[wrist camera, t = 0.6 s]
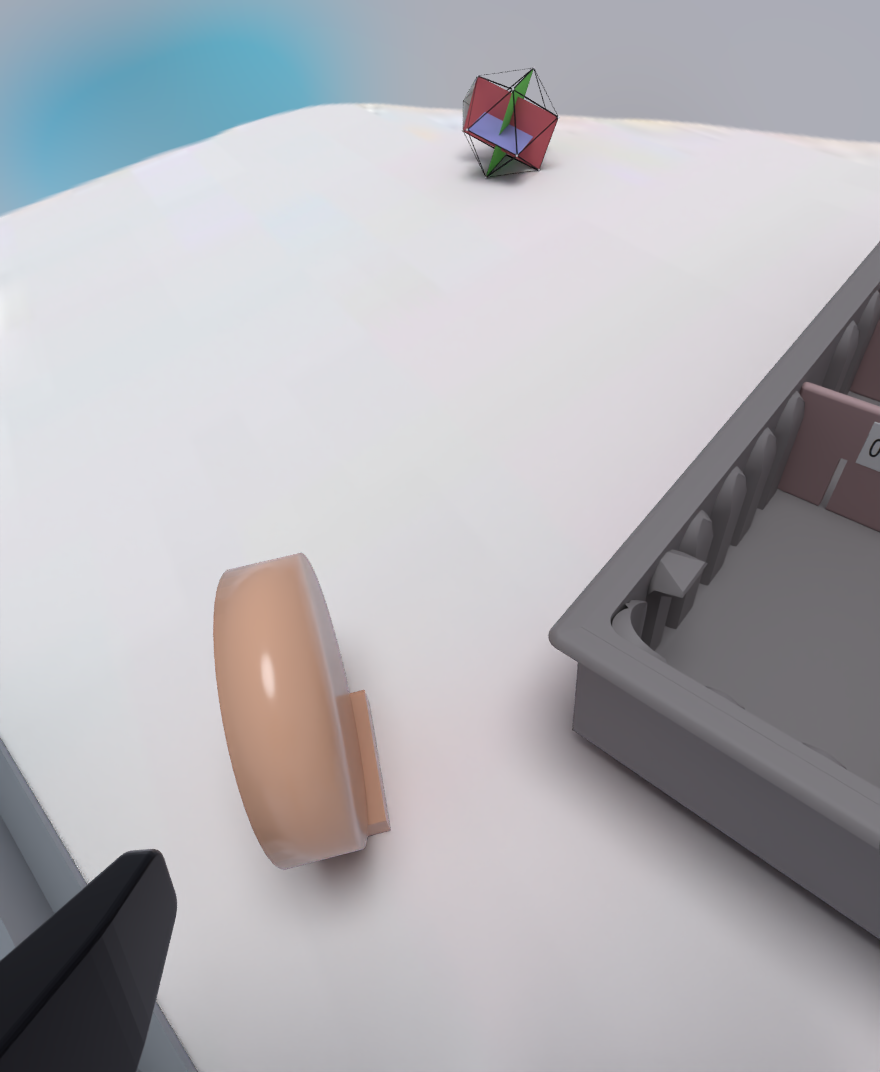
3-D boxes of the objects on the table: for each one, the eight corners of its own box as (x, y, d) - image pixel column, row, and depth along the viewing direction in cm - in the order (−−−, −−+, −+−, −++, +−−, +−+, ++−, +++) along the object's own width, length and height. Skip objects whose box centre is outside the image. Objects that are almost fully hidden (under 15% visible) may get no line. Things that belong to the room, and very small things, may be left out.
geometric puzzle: (590, 125, 55) (530, 25, 52) (561, 164, 51) (494, 59, 48) (521, 176, 60) (462, 88, 57) (489, 214, 57) (425, 123, 53)
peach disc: (401, 891, 24) (337, 772, 16) (304, 916, 23) (192, 808, 16) (361, 658, 29) (300, 489, 22) (284, 677, 29) (195, 513, 21)
